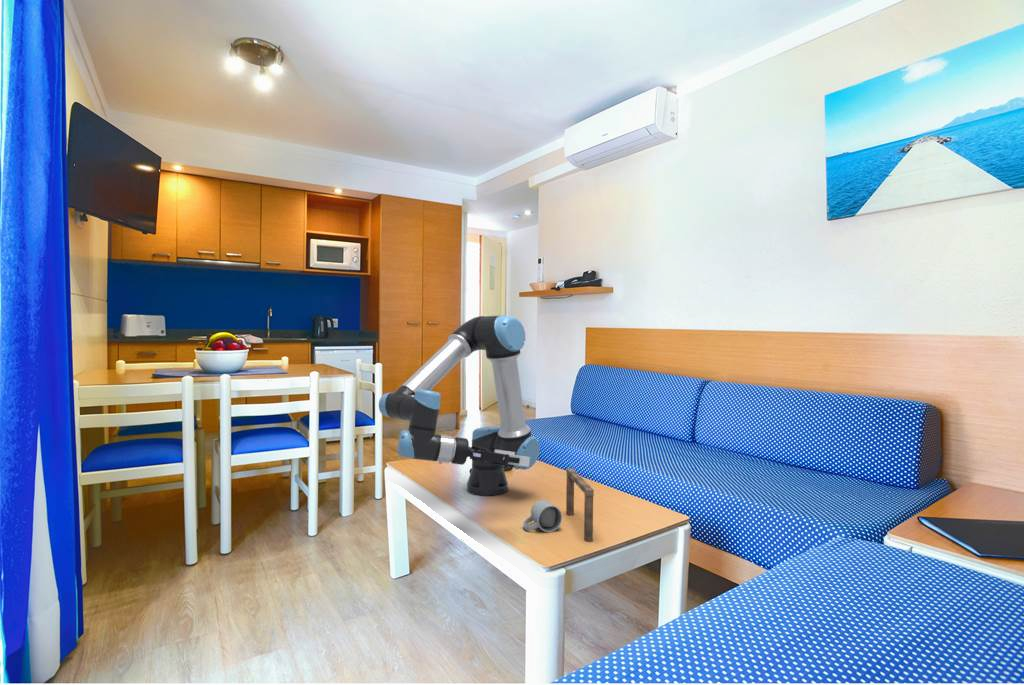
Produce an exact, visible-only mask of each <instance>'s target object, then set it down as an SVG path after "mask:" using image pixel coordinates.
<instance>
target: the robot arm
mask: <svg viewBox="0 0 1024 685" xmlns="http://www.w3.org/2000/svg"><path fill="white" fill-rule="evenodd" d="M525 342H526V331H525V327H524V324H522V322H521V321H520V320H519V319H518V318H517V317H515V316H512V315H505V314H502V315H488V316H485V315H483V316H482V315H480V316H477V317H473V318H471V319H469V320H467V321H465V322H464V323H462V324H461V325H460V326H459V327H458V328H456V329H455V330H454V331H453V332H452V333H451V334H449V335H448V337H447V341H446V343H445V344H443V346H442V347H440V348H439V349H438V350H437V351H436V352H435V353H434V354H433V355H432V356H431V357H430V358H429V359H428V360H427V361H426V362H425V363H424V364H422V366H420V368H418V369H417V370H416V371H415V372H414V373H413V374H412V375H411V376H410V377H409V378H408V379H407V380H406V381H405V382H403V384H402V385H401V386H400V387H398V388H397V389H396V390H395V391H394V392H393V391H391V392H386V393H384V394H383V395H382V396H381V397H380V399H379V400H378V410H379V412H380V414H381V415H383V416H384V417H387V418H390V419H393V420H394V419H396V420H402V421H406V422H407V421H408V422H409V425H408V429H402V430H401V431H400V433H399V438H398V440H397V441H398V442H397V449H396V450H397V454H398V455H399V457H403V458H409V459H413V460H420V461H427V462H428V461H429V462H438V464H439V465H442V464H443V463H446V464H447V463H448V464H449V463H451V464H454V465H459V466H460V465H461V466H463V465H465V464H466V462H467V459H468V458H469V459H470V460H471V470H470V474H469V475H468V476H469V477H468V479H467V483H466V489H467V492H468V493H470V494H472V495H476V496H477V495H478V496H497V495H502V494H504V493H506V492H507V491H508V490H509V482H508V480H507V479H508V478H507V476H506V473H505V470H504V467H510V468H512V469H513V468H514V469H515V470H528V469H531V468H532V467H533V466H534V465H535V464H536V462H537V460H538V459H539V455H540V453H541V452H540V451H541V444H540V441H539V439H538V438H537V437H536V436H533V435H532V430H531V427H530V426H529V425H528V424H526V418H525V410H524V403H523V394H522V388H521V380H520V372H519V367H518V366H519V365H518V357H520V354H521V350H522V348H524V346H525ZM481 350H482V351H485V355H486V359H487V360H489V361H490V362H491V366H492V372H493V380H494V386H495V393H496V401H497V408H498V414H499V420H500V425H491V426H483V427H478V428H475V429H474V430H473V431H472V436H471V446H470V445H469V440H468V438H465V437H459V436H458V437H457V436H456V437H454V436H452V435H444V434H437V433H436V429H437V423H438V417H439V411H440V409H441V399H442V398H441V397H442V395H441V393H440V392H438V391H433V389H434V388H435V386H436V385H438V383H439V382H441V381H442V379H443V378H445V377H446V376H447V375H448V373H450V372H451V370H452V369H453V368H455V367H456V366H457V364H458V363H460V361H461V360H462V359H463V358H468V357H469V356H470V355H471V354H472V353H473V352H477V351H481Z"/></svg>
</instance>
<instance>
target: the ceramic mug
mask: <svg viewBox="0 0 1024 685" xmlns="http://www.w3.org/2000/svg"><path fill="white" fill-rule="evenodd" d="M562 521H563V515H562V511H561V509H560V508H559V507H558V506H556V505H554V504H553V503H551V502H549V501H548V500H543V499H542V500H541V499H540V500H538V501H536V502H534V504H533V505H532V507H531V509H530V516H529V517H527V518H526V519H524V521H523V522H522V526H523V528H524V530H525V531H527V532H529V531H533V530H536V529H538V528H539V529H540V530H541V531H543V532H545V533H552V532H555V531H556V530H557V529H558V528H559V527H560V526H561V524H562ZM532 522H534V523H532ZM530 523H532V524H530ZM529 524H530V525H529Z"/></svg>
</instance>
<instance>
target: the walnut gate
mask: <svg viewBox="0 0 1024 685" xmlns="http://www.w3.org/2000/svg"><path fill="white" fill-rule="evenodd" d="M565 471H566V472H565V473H566V490H565V491H566V494H565V498H566V505H565V506H566V510H565V512H566V515H567V516H574V515H575V511H574V510H575V484H576V486H577V487H578V488H579V489H580V490H581V491H582V492H583V494H584V501H583V502H584V505H583V506H584V508H583V509H584V514H583V515H584V516H583V517H584V518H583V519H584V521H583V522H584V523H583V531H584V532H583V540H584V541H585V542H588V543H589V542H593V540H594V538H593V536H594V495H595V493H594V492H595V491H594V488H593V487H591V485H590V484H589V483H587V481H586V480H585V479H584V478H583V477H582V476H581V475H580V474H579V473H578V472H577V471H576V470H575V469H574V468H573V467H571V468H570V467H566V470H565Z"/></svg>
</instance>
